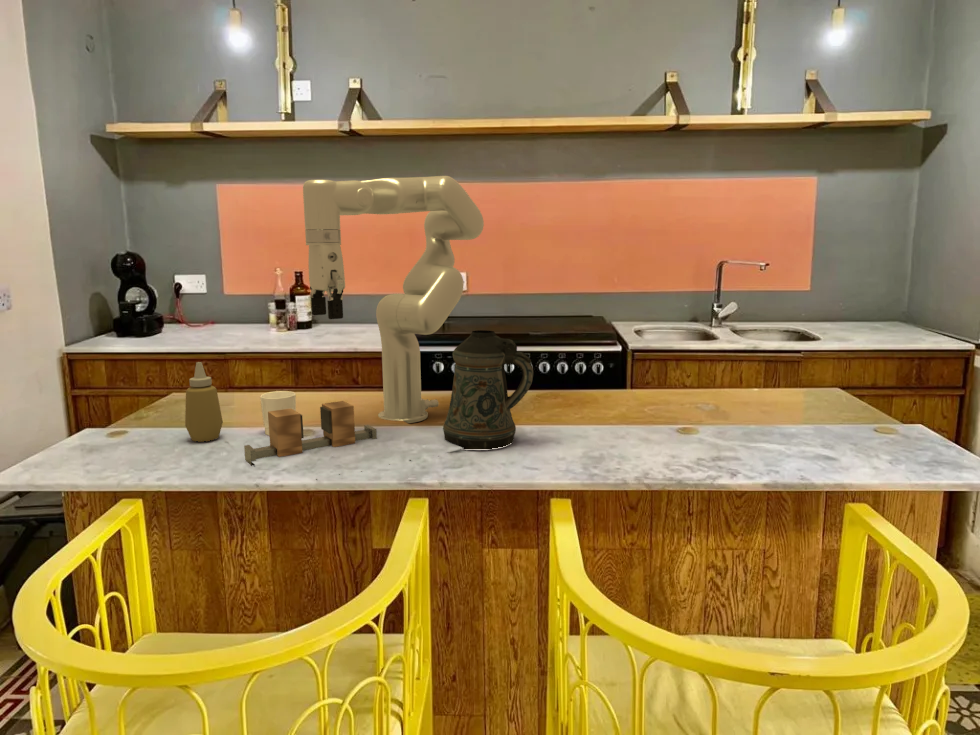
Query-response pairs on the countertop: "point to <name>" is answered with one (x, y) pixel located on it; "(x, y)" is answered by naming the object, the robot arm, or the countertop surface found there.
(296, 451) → the brown capped cube
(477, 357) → the beer stein
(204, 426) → the squeeze bottle
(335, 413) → the wooden block
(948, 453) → the countertop surface
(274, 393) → the white cup
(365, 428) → the rail
